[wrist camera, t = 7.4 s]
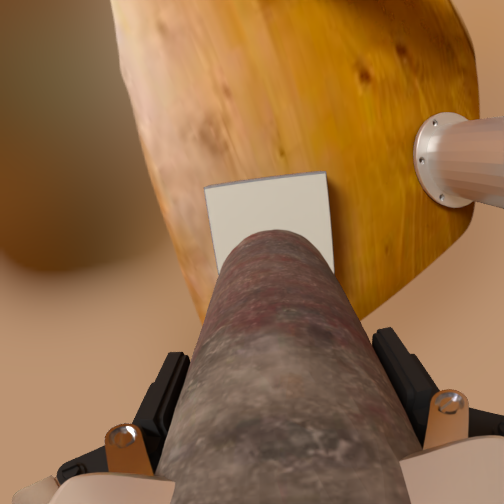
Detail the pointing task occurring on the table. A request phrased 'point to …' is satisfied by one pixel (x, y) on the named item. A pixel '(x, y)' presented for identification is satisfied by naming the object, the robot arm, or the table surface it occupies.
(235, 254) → the candle
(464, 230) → the table surface
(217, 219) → the podium
